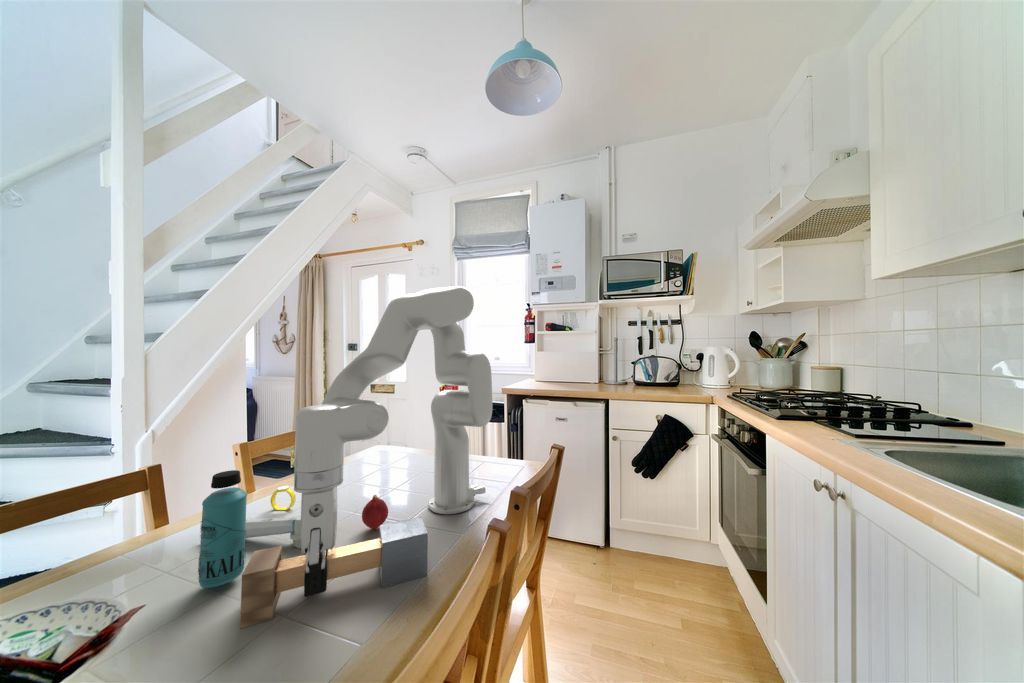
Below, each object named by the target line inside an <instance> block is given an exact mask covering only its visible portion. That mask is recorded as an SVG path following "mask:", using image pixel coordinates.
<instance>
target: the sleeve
mask: <svg viewBox="0 0 1024 683" xmlns="http://www.w3.org/2000/svg"><path fill="white" fill-rule="evenodd" d="M428 533H429V532H428V531H427V528H426V525H425V523H424V521H423V519H422V516H419V517H414V518H413V517H412V518H410V519H404V520H399V521H394V522H388V523H383V524H382V525H380V526H379V538H381V544H382V564H381V567H378V568H379V576H380V577H379V578H380V586H381V587H380V588H381V589H384V588H389V587H391V586H395V585H398V584H402V583H405V582H406V583H407V582H409V581H412V580H416V579H419V578H424V577H427V576H428V556H429V555H428V553H429V552H428V547H429V546H428V543H429V542H428V541H429V540H428V539H429V538H428Z"/></svg>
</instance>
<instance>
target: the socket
mask: <svg viewBox="0 0 1024 683" xmlns="http://www.w3.org/2000/svg"><path fill="white" fill-rule="evenodd" d="M279 560H283V544H282V545H277V546H273V547H269V548H263V549H258V550H254V551H253V552H252V555H251V557H250V558H249V560H248V563H247V565H245V567H244V569H243V572H242V573H241V588H240V589H241V592H240V593H241V594H240V619H239V620H240V622H239V623H240V624H239V628H240V629H242V628H247V627H250V626H254V625H257V624H261V623H264V622H267V621H271V620H273V618H274V615H275V612H276V608H277V606H278V603H279V599H280V596H281V593H282V592H279V593H275V594H274V588H275V569H276V566H277V563H278V561H279Z"/></svg>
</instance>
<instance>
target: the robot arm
mask: <svg viewBox="0 0 1024 683" xmlns="http://www.w3.org/2000/svg"><path fill="white" fill-rule="evenodd" d="M474 303H475V302H474V297H473V294H472V293H471V291H470V290H469V289H468V288H466V287H465V286H461V285H459V286H458V285H455V286H446V287H435V288H429V289H428V288H427V289H423V290H421V291H418V292H416V293H407V294H402V295H401V294H400V295H398V296H395V297H394V298H393V299H391V301H390V302H389V304H388V305H387V307H385V310H384V312H383V313H382V314H383V315H382V316H381V319H380V321H379V323H378V325H377V326H376V329H375V330H374V333H373V335H372V337H371V339H370V341H369V343H368V345H367V347H366V348H365V349H364V350H363V351H362V352H361V353H359V355H357V356H356V357H355V358H354V359H353V360H352V361H351V362H350V363H348V365H346V366H345V367H344V368H343V369H342V370H341V371H340V373H338V374H337V376H336V377H335V378H334V380H333V381H332V383H331V385H330V387H329V389H328V391H327V392H326V394H325V396H324V398H323V400H322V402H321V404H316V405H310V406H309V405H308V406H304V407H302V408H300V409H299V410H298V412H297V413H296V415H295V431H294V432H295V433H294V436H295V438H294V440H295V441H294V473H293V474H294V475H293V476H294V478H293V492H296V493H299V494H301V500H300V501H301V502H300V503H301V505H300V516H301V548H300V552H301V555H306V570H305V577H304V586H303V590H304V591H303V596H304V597H306V598H307V597H310V596H315V595H318V594H321V593H325V592H326V591H327V589H328V588H327V586H328V584H327V583H328V580H327V565H325V560H326V550H327V549H330V550H332V549H333V548H336V547H335V546H336V541H337V534H338V533H337V531H338V487H339V486H341V485H342V484H343V482H344V460H345V456H344V455H345V443H348V442H356V441H357V442H358V441H360V442H361V441H367V440H372V439H374V438H377V437H379V435H380V434H383V432H384V431H385V429H386V427H388V424H389V413H388V410H387V408H386V407H385V406H384V405H383V404H382V403H380V402H378V401H375V400H369V399H361V398H360V397H361V396H362V394H363V393H364V391H365V390H366V389H367V388H368V387H369V386H370V385H371V384H372V383H373V382H375V381H376V380H378V379H379V378H381V377H383V376H385V375H387V374H389V373H392V372H393V371H395V370H397V369H399V368H400V367H402V366H403V365H404V364H405V363H406V362H407V359H408V356H409V354H410V351H411V349H412V346H413V345H414V341H415V339H416V337H417V335H418V333H419V331H423V330H430V331H431V332H430V333H431V334H432V338H433V349H434V350H433V351H434V352H433V353H434V354H433V355H434V369H435V370H434V372H435V379H436V380H437V381H438V383H440V384H441V385H445V386H450V387H451V386H453V387H467V390H464V389H463V390H462V389H445V390H441V391H439V392H438V393H436V394H435V395H434V397H433V398H432V400H431V404H430V410H431V411H430V412H431V418H432V423H433V431H434V457H433V458H434V459H433V460H434V464H433V465H434V469H433V470H434V472H433V474H434V482H433V484H434V485H433V486H434V488H433V491H434V492H433V493H434V494H433V496H432V497H431V498H430V499H429V500H428V505H427V506H428V509H429V510H430V511H432V512H433V513H436V514H440V515H455V514H459V513H464V512H466V511H468V510H470V509H471V508H472V507H474V505H475V496H476V495H483V494H485V493H486V492H487V491H486V489H487V488H486V486H484V485H482V486H479V485H478V484H475V485H470V438H469V435H468V432H467V429H466V428H465V427H472V428H473V427H474V428H481V427H484V426H487V425H488V424H489V422H490V421H491V419H492V415H493V382H492V381H493V380H492V365H491V363H490V361H489V359H488V357H487V355H486V354H484V353H483V352H480V351H473V350H471V351H468V350H467V351H466V345H465V334H464V330H463V329H462V326H461V325H460V323H459V322H461V321H464V320H465V319H467V318H468V317H470V315H471V314H472V312H473V309H474V305H475V304H474ZM320 545H323V547H322V548H319V546H320ZM319 553H322V559H321V557H319Z"/></svg>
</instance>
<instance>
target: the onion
mask: <svg viewBox="0 0 1024 683" xmlns="http://www.w3.org/2000/svg"><path fill="white" fill-rule="evenodd" d="M371 498H372V499H371V500H369V501H367V503H366V505H365V506H364V507H363V509H362V512H361V521H362V522H363V524H364V525H365V526H366V527H368V529H371V530H376V529H379V528H380V525H384V524H385V521H386V520H387V518H388V516H389V507H388V505H387V503H386V501H385V500H383V499H382V498H379V497H378V496H377V494H373V496H372V497H371Z"/></svg>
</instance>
